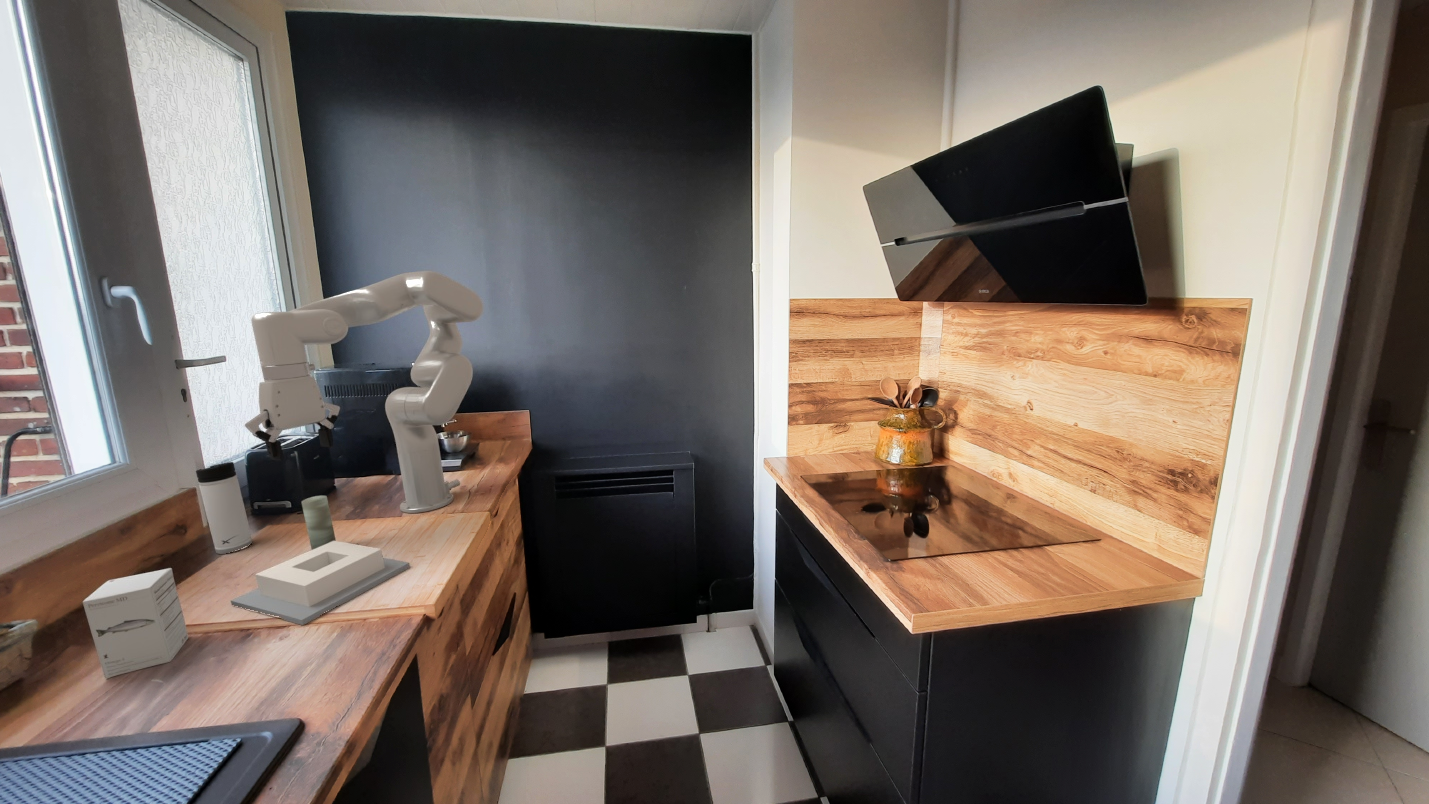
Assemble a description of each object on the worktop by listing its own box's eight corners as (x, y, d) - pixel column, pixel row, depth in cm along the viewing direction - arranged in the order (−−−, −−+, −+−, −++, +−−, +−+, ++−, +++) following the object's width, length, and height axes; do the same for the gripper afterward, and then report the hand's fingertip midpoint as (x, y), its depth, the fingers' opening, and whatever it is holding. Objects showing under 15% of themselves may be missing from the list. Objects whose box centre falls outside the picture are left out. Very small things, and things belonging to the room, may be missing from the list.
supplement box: (103, 681, 76) (78, 602, 74) (129, 652, 83) (107, 578, 80) (171, 663, 79) (149, 586, 77) (191, 636, 86) (172, 565, 83)
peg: (328, 545, 118) (318, 494, 116) (341, 547, 116) (331, 496, 114) (307, 554, 114) (296, 502, 112) (321, 556, 112) (309, 504, 110)
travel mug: (232, 555, 115) (210, 468, 111) (208, 553, 117) (186, 468, 113) (261, 542, 121) (241, 459, 117) (238, 541, 123) (218, 459, 119)
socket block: (343, 554, 113) (339, 532, 112) (410, 567, 106) (405, 544, 105) (231, 605, 95) (225, 580, 94) (302, 625, 87) (296, 598, 86)
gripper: (319, 367, 117) (333, 441, 120) (224, 379, 101) (244, 464, 104) (341, 367, 114) (355, 443, 117) (247, 379, 98) (267, 466, 102)
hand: (303, 453), depth 111 cm, fingers open, 9 cm apart
